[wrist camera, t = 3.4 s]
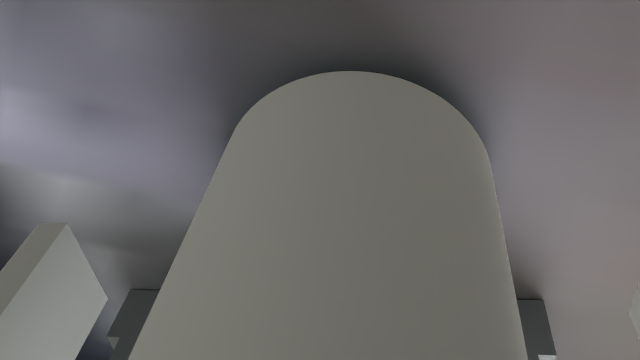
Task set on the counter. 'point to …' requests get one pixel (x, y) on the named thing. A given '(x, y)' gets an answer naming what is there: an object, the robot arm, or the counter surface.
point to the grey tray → (142, 301)
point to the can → (343, 236)
